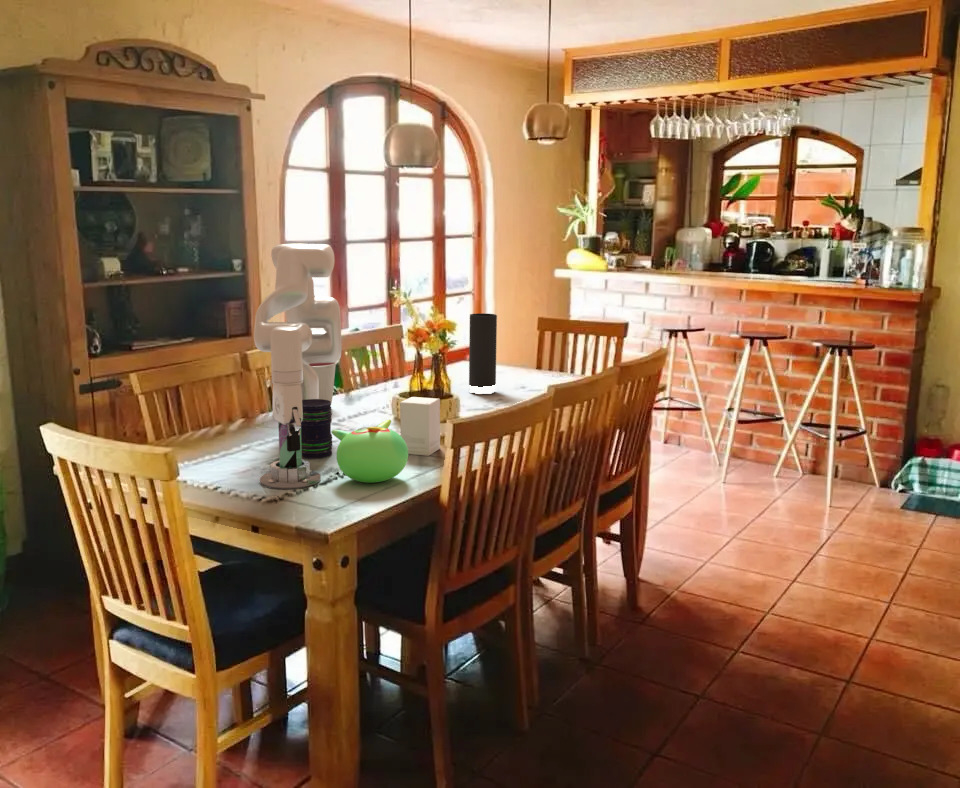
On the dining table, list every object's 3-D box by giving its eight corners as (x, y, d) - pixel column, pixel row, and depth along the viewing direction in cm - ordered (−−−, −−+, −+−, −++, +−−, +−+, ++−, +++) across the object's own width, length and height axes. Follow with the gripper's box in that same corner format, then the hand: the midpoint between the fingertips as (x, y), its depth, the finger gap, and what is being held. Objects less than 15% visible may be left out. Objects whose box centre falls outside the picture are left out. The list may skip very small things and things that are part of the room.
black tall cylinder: (467, 390, 342) (468, 313, 336) (493, 389, 343) (494, 313, 337) (470, 395, 331) (471, 316, 326) (496, 394, 333) (498, 316, 327)
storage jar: (302, 460, 239) (300, 407, 236) (292, 452, 247) (290, 400, 244) (337, 456, 243) (336, 404, 240) (326, 448, 252) (325, 397, 249)
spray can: (286, 472, 224) (283, 395, 220) (305, 474, 223) (304, 397, 219) (276, 478, 219) (273, 400, 215) (296, 480, 218) (294, 401, 214)
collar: (295, 468, 231) (295, 453, 230) (333, 479, 221) (332, 463, 221) (247, 480, 220) (247, 464, 219) (284, 493, 210) (284, 476, 209)
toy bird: (346, 493, 210) (345, 434, 208) (329, 475, 226) (327, 419, 223) (416, 485, 218) (416, 428, 215) (395, 468, 233) (395, 414, 230)
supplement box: (441, 448, 253) (441, 398, 250) (429, 456, 245) (429, 404, 242) (412, 445, 256) (412, 395, 253) (399, 453, 248) (399, 401, 245)
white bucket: (346, 410, 302) (345, 350, 297) (297, 416, 292) (295, 354, 287) (325, 401, 316) (323, 344, 312) (277, 407, 306) (275, 347, 302)
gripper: (262, 372, 221) (264, 441, 225) (283, 384, 206) (286, 458, 210) (290, 370, 225) (292, 438, 228) (314, 381, 210) (315, 454, 214)
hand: (289, 447), depth 219 cm, fingers closed on spray can, 5 cm apart
